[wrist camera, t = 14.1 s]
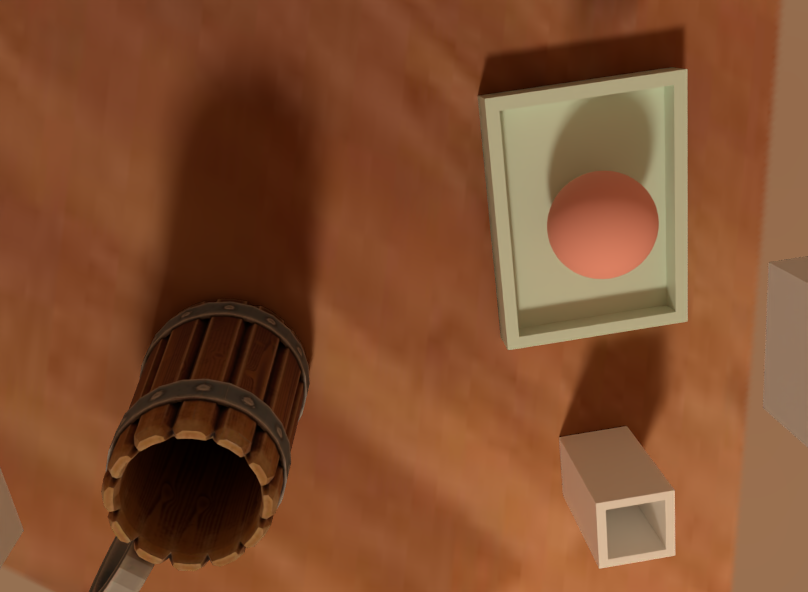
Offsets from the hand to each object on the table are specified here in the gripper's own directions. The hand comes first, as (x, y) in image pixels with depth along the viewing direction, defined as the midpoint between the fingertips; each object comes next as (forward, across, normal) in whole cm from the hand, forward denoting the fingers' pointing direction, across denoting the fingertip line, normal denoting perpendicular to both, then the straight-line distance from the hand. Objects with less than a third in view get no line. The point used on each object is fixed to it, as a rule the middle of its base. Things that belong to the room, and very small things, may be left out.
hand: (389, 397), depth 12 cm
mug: (+35, -12, -16) cm, 40 cm away
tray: (+35, +14, -7) cm, 38 cm away
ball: (+31, +14, -7) cm, 34 cm away
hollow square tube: (+35, +14, -26) cm, 46 cm away
